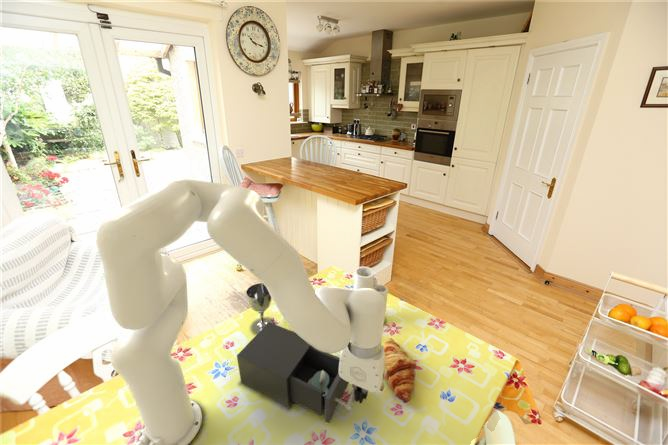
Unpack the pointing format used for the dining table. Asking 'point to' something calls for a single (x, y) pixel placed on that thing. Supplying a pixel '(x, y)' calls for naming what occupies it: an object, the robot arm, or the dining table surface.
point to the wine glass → (259, 304)
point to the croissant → (399, 370)
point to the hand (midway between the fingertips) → (360, 397)
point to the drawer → (314, 396)
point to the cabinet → (271, 361)
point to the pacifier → (320, 381)
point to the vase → (369, 282)
